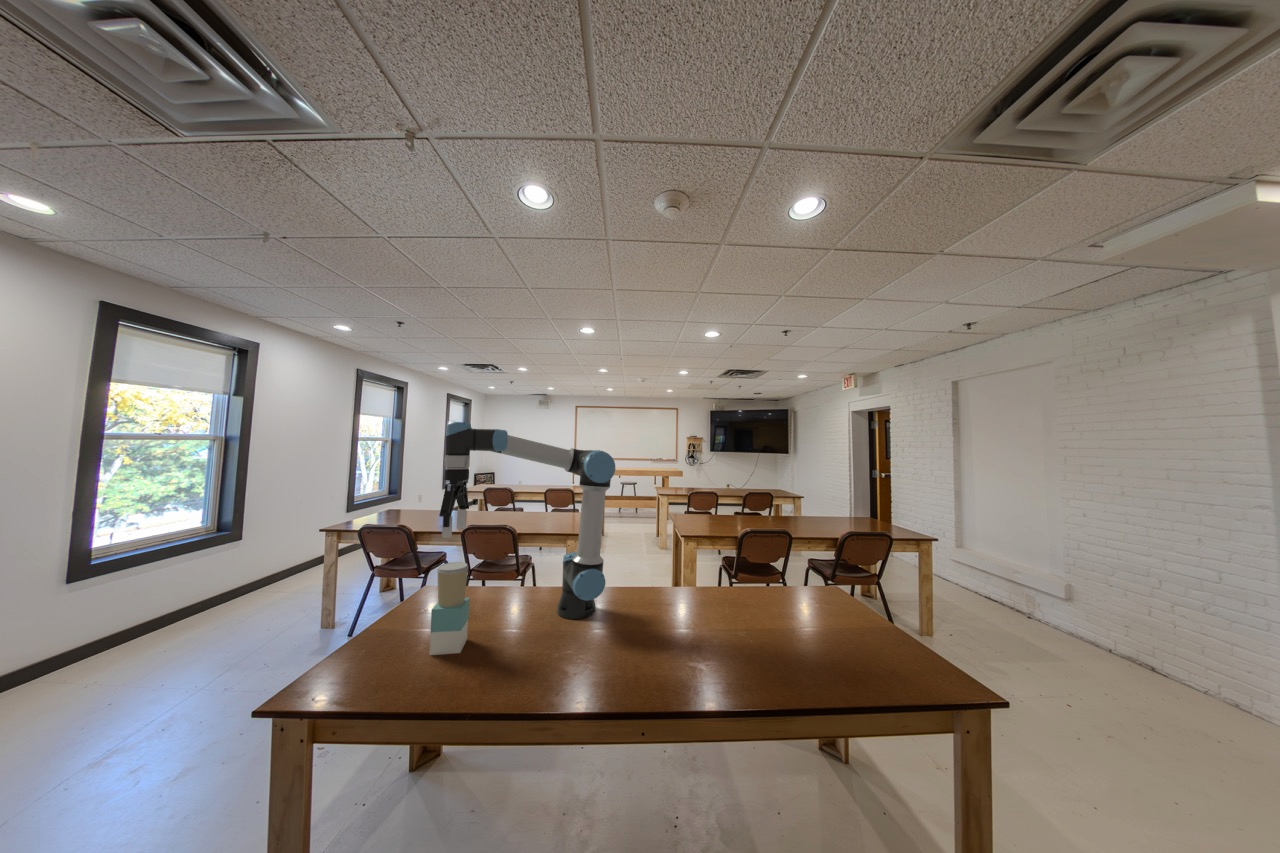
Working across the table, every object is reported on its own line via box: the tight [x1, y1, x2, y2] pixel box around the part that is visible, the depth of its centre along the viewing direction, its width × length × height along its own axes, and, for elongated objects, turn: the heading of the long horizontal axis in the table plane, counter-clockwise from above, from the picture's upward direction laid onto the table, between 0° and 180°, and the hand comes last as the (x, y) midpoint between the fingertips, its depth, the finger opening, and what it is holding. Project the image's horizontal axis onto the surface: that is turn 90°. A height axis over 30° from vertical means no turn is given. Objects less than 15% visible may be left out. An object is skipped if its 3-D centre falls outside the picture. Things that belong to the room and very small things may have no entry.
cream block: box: [429, 619, 469, 656], centre depth 129 cm, size 9×9×7 cm
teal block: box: [430, 597, 470, 633], centre depth 129 cm, size 9×9×7 cm
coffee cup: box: [436, 561, 469, 608], centre depth 130 cm, size 9×9×12 cm
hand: (454, 532), depth 131 cm, fingers open, 13 cm apart
